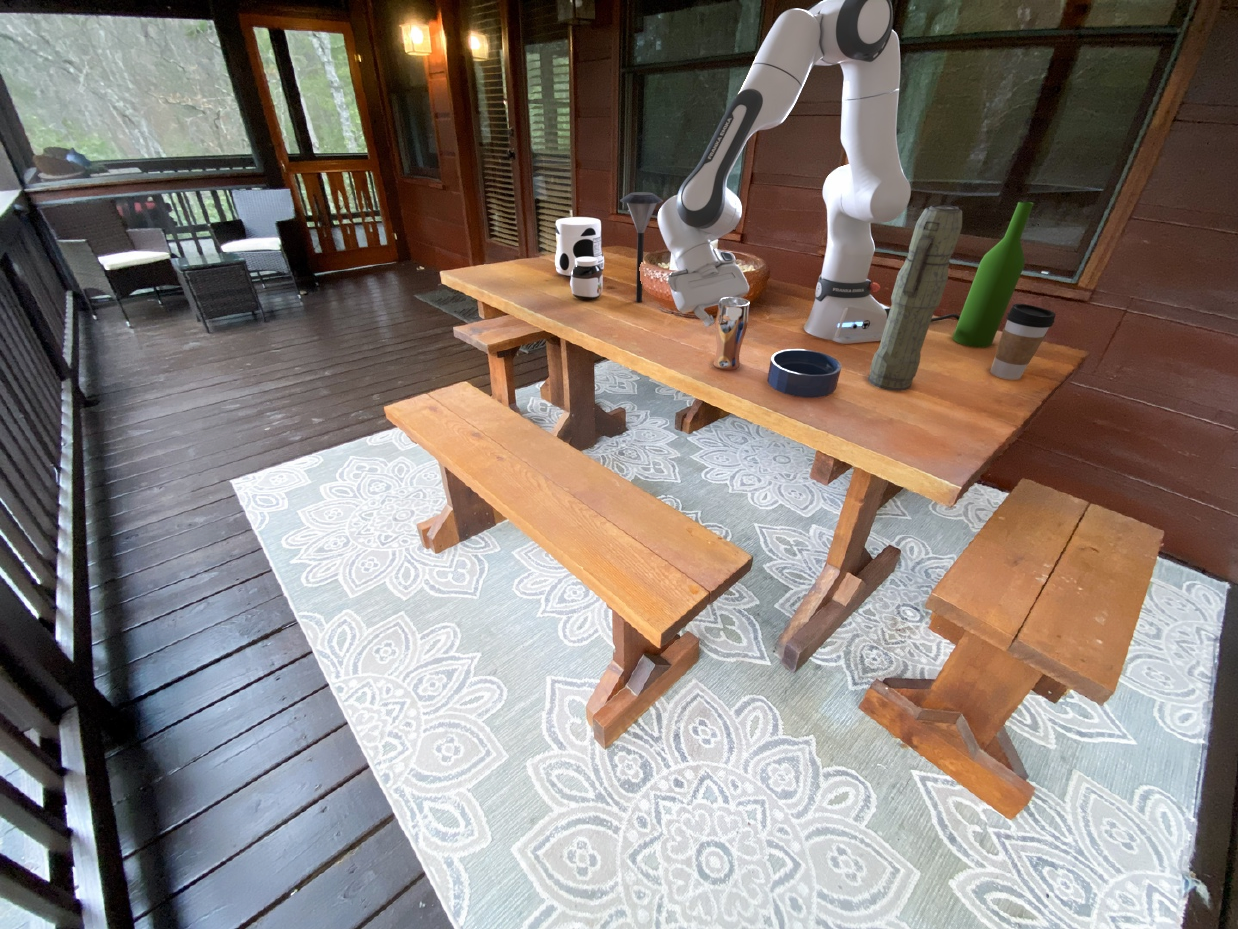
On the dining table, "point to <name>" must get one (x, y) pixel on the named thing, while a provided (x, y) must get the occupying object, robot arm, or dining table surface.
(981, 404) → the dining table surface
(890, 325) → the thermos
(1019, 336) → the coffee cup
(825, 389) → the bowl
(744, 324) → the beer glass
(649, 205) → the solar garden light
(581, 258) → the spread jar
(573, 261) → the milk container
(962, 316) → the wine bottle
